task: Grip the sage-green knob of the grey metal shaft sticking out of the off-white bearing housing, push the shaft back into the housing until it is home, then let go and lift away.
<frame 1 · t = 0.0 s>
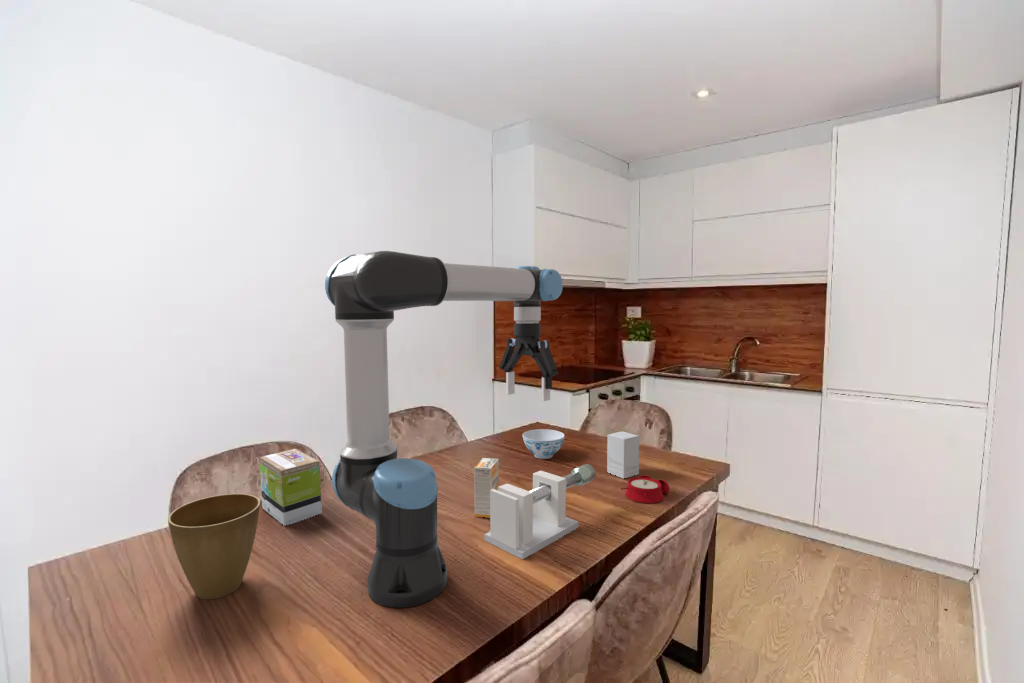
hand: (527, 397, 136), 28 cm above the table, tool pointing down, fingers open, 13 cm apart
supplement box 2: (622, 474, 153), on the table
alarm clock: (647, 496, 137), on the table
supplement box: (487, 511, 126), on the table
housing: (532, 533, 114), on the table
tea box: (291, 512, 126), on the table
plant pot: (220, 589, 92), on the table
chinaware: (543, 456, 171), on the table
shaft: (561, 484, 121), point 9 cm above the table, slide at 8.0 cm
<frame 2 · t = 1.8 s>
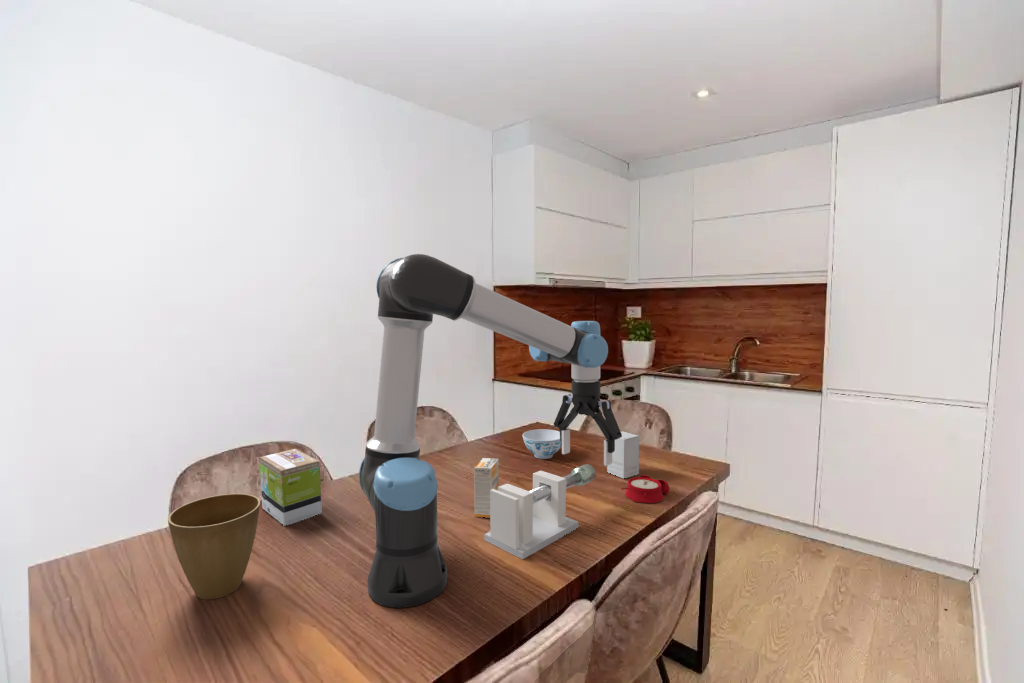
hand: (586, 458, 128), 13 cm above the table, tool pointing down, fingers open, 13 cm apart
nothing on the table moved.
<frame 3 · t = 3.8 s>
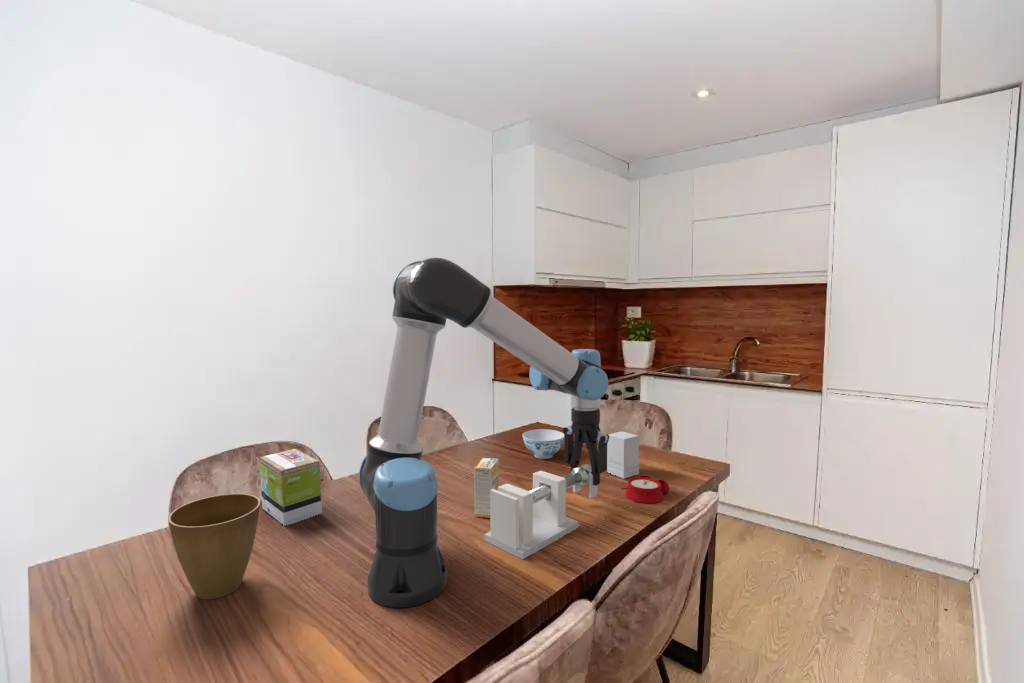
hand: (585, 493, 128), 4 cm above the table, tool pointing down, fingers closed on shaft, 5 cm apart
shaft: (561, 484, 121), point 9 cm above the table, slide at 8.0 cm, touching gripper
everything else where it was.
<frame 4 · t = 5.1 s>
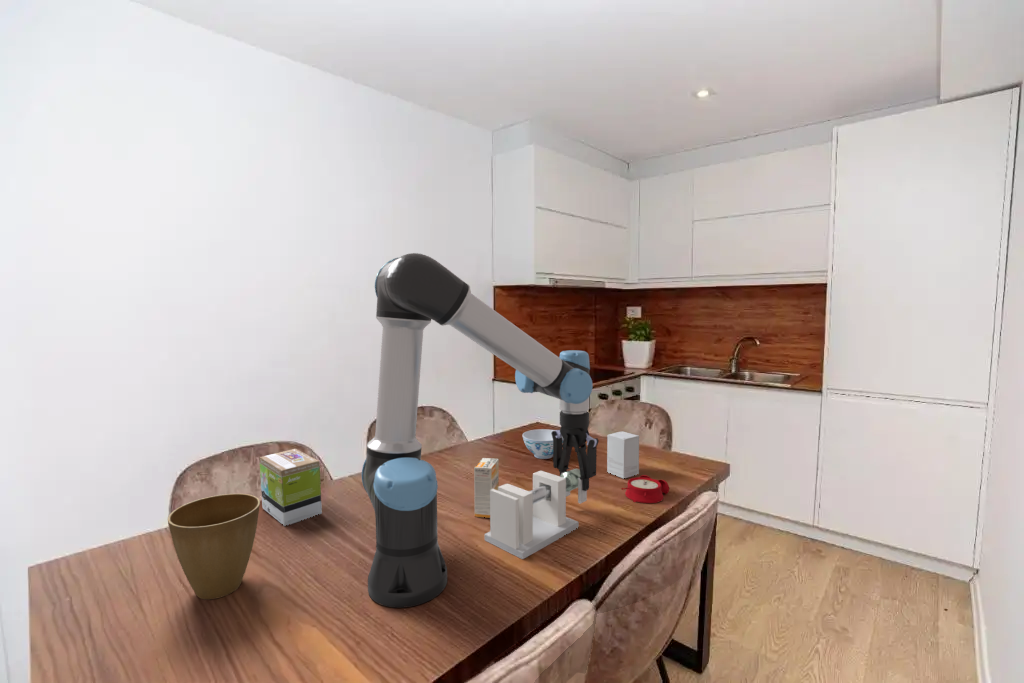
hand: (574, 498, 125), 4 cm above the table, tool pointing down, fingers closed on shaft, 5 cm apart
shaft: (549, 489, 117), point 9 cm above the table, slide at 3.2 cm, touching gripper
everything else where it was.
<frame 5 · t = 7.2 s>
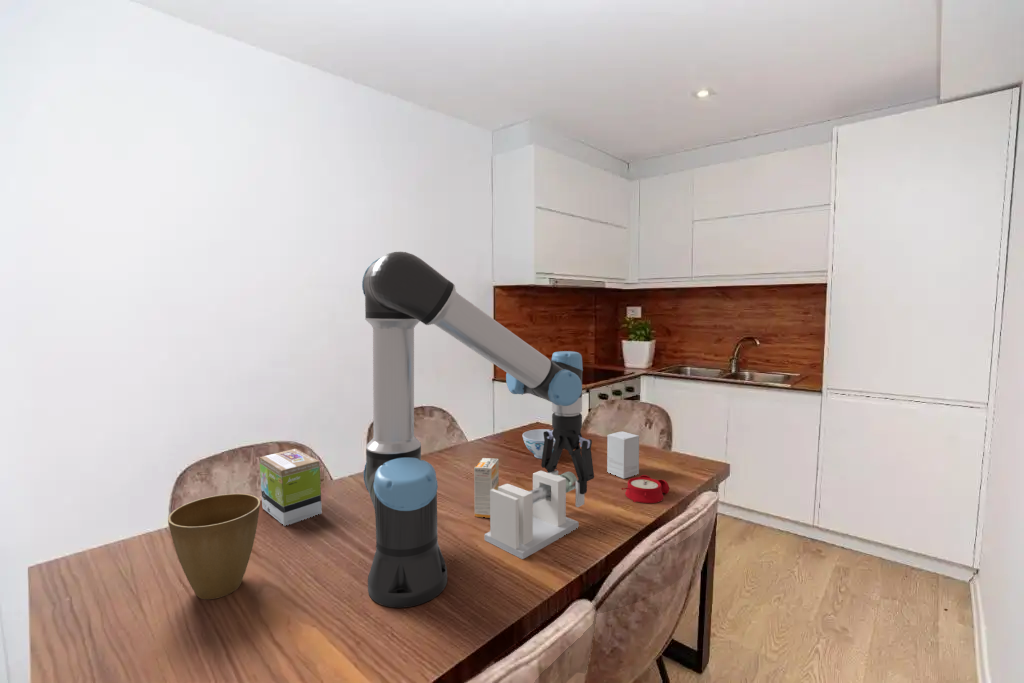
hand: (566, 500, 123), 4 cm above the table, tool pointing down, fingers open, 8 cm apart
shaft: (541, 493, 115), point 9 cm above the table, slide at 0.0 cm
everything else where it was.
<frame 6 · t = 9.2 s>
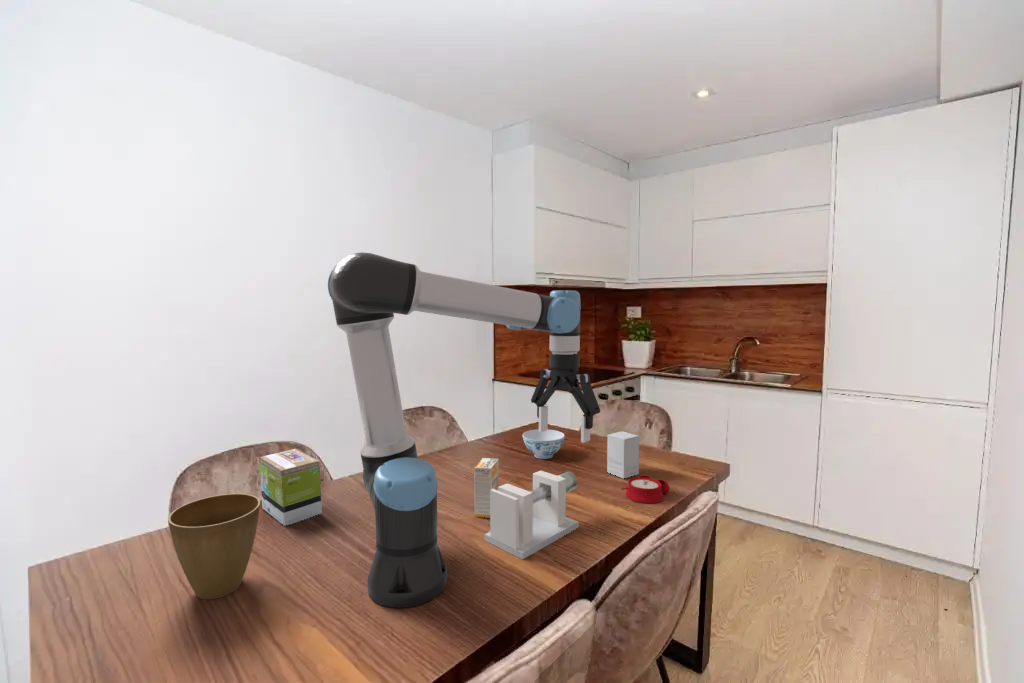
hand: (563, 436, 121), 21 cm above the table, tool pointing down, fingers open, 13 cm apart
nothing on the table moved.
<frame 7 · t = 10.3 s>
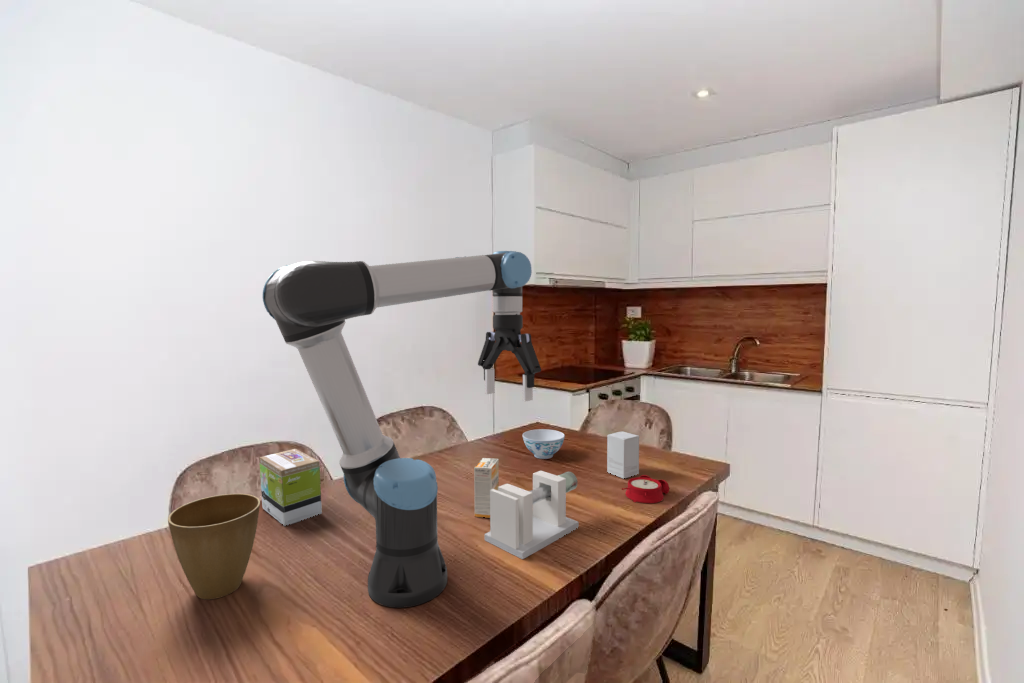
hand: (508, 397, 122), 31 cm above the table, tool pointing down, fingers open, 13 cm apart
nothing on the table moved.
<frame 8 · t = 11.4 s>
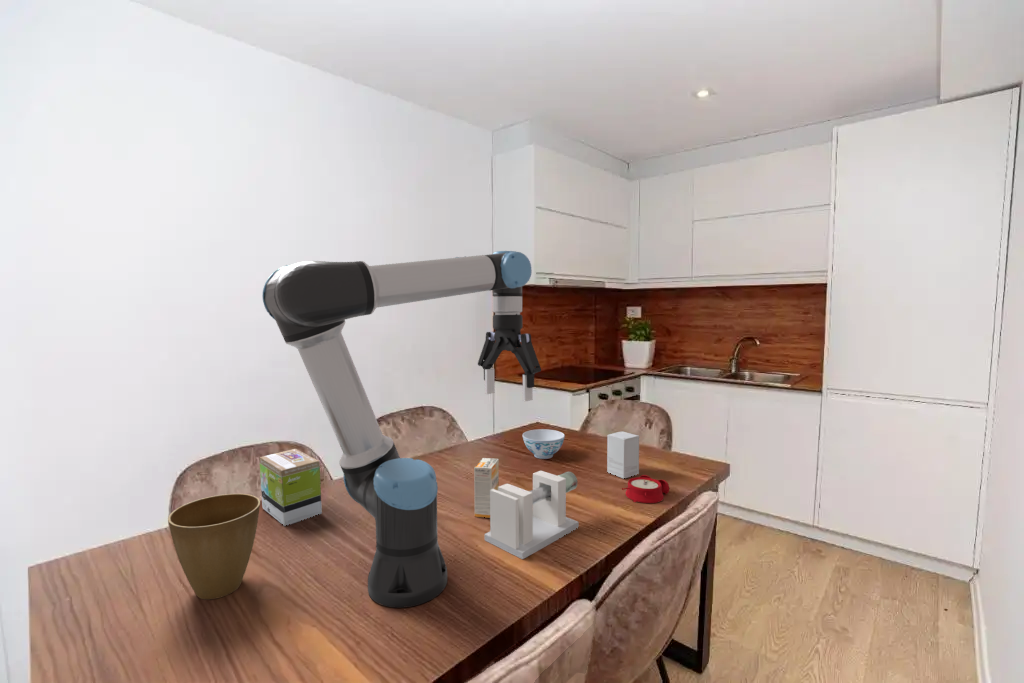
hand: (508, 397, 122), 31 cm above the table, tool pointing down, fingers open, 13 cm apart
nothing on the table moved.
at the end: shaft slide at 0.0 cm; the gripper is holding nothing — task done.
